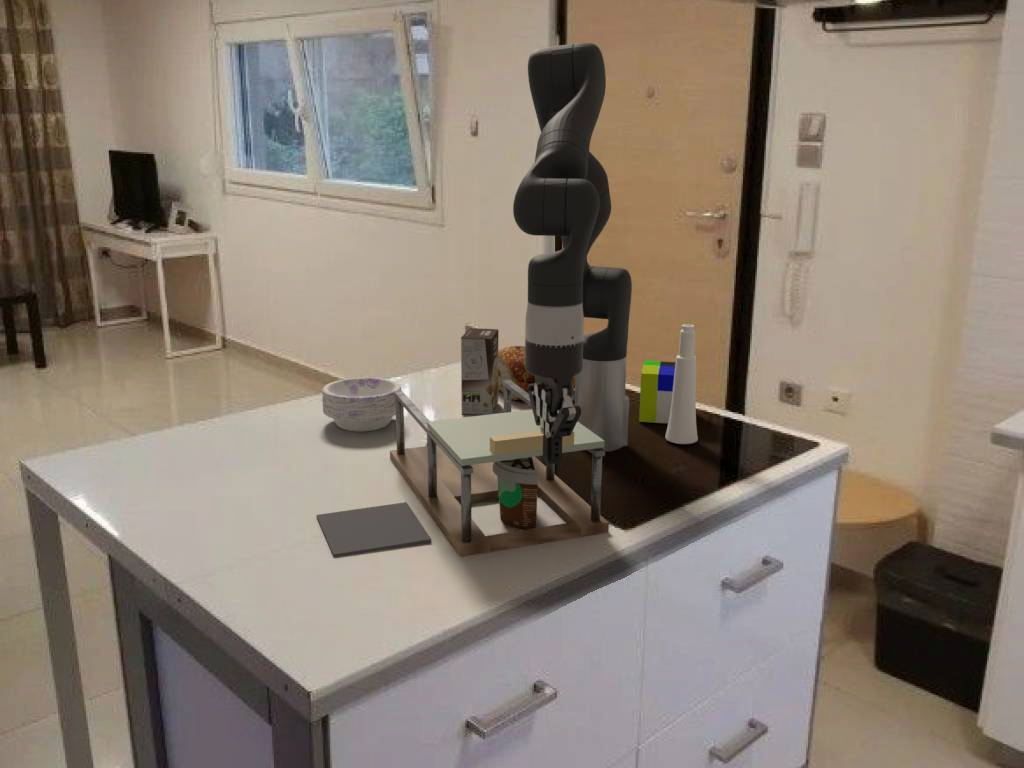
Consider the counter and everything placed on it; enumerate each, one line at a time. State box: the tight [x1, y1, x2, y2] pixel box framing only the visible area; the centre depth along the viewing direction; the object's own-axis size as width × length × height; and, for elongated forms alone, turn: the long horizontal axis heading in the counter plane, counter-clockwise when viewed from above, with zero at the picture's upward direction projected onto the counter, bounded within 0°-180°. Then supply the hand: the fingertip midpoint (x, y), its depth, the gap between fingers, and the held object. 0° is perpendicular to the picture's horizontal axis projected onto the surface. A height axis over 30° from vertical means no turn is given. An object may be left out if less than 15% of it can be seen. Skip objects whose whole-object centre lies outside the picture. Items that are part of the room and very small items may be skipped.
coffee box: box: [460, 328, 499, 416], centre depth 193 cm, size 9×6×16 cm
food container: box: [493, 457, 538, 531], centre depth 142 cm, size 12×6×10 cm, turn 5°
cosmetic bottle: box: [664, 323, 699, 445], centre depth 175 cm, size 6×6×22 cm
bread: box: [498, 345, 575, 401], centre depth 208 cm, size 20×18×10 cm
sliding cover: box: [427, 409, 604, 466], centre depth 139 cm, size 22×17×3 cm
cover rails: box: [394, 380, 606, 543], centre depth 151 cm, size 21×39×11 cm, turn 21°
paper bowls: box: [321, 377, 402, 433], centre depth 184 cm, size 15×15×8 cm
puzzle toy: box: [638, 360, 676, 425], centre depth 190 cm, size 10×10×10 cm
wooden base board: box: [389, 444, 610, 558], centre depth 153 cm, size 23×40×2 cm, turn 21°
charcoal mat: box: [316, 501, 432, 558], centre depth 139 cm, size 14×14×1 cm
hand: (552, 461), depth 127 cm, fingers closed
